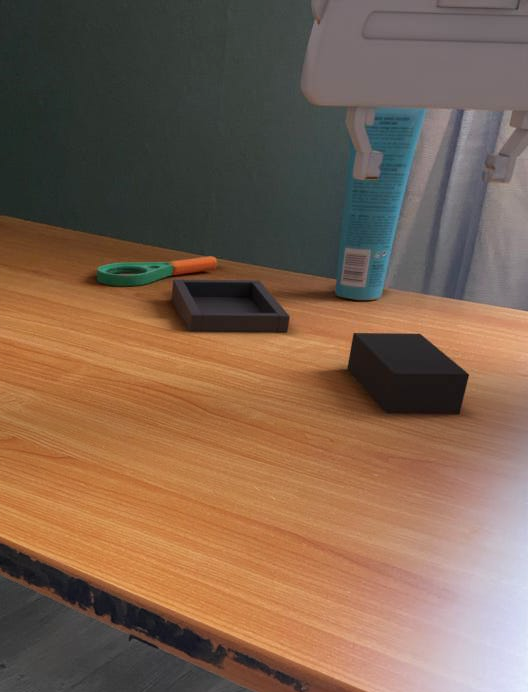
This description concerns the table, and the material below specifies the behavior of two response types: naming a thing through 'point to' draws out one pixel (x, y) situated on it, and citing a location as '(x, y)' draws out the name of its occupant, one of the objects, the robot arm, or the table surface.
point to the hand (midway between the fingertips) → (430, 180)
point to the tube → (376, 203)
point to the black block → (407, 374)
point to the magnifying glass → (151, 270)
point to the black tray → (228, 306)
